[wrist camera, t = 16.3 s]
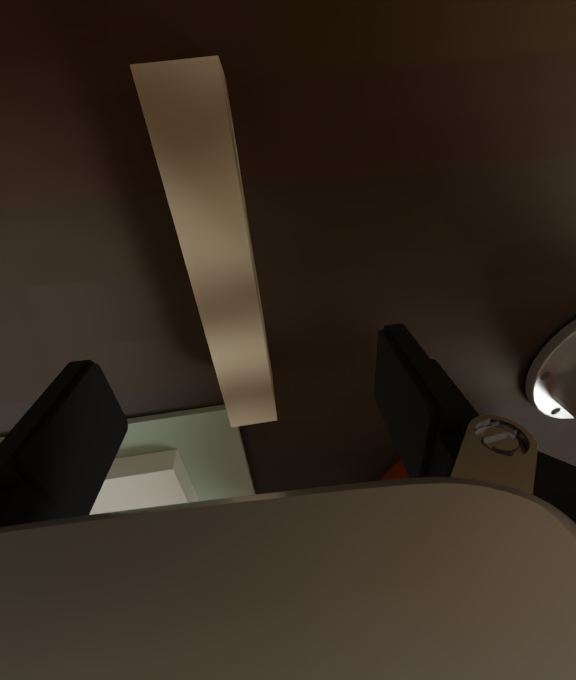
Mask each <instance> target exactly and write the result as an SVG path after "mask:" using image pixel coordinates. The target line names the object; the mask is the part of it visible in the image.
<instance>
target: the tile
mask: <svg viewBox="0 0 576 680" xmlns="http://www.w3.org/2000/svg"><path fill="white" fill-rule="evenodd" d="M197 501H199V499H198V497H197V494H196V492H195V490H194V487H193V485H192V483H191V480H190V478H189V476H188V473H187V471H186V469H185V466H184V464H183V462H182V460H181V457H180V455H179V453H178V450H177V449H174V450H168V451H161V452H155V453H148V454H141V455H135V456H128V457H122V458H115V459H114V461H113V464H112V466H111V468H110V470H109V472H108V474H107V477H106V479H105V481H104V483H103V485H102V488H101V490H100V492H99V494H98V496H97V499H96V501H95V503H94V505H93V507H92V510H91V512H90V514H89V515H93V514H100V513H108V512H116V511H124V510H132V509H140V508H148V507H156V506H164V505H173V504H181V503H189V502H197Z"/></svg>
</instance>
